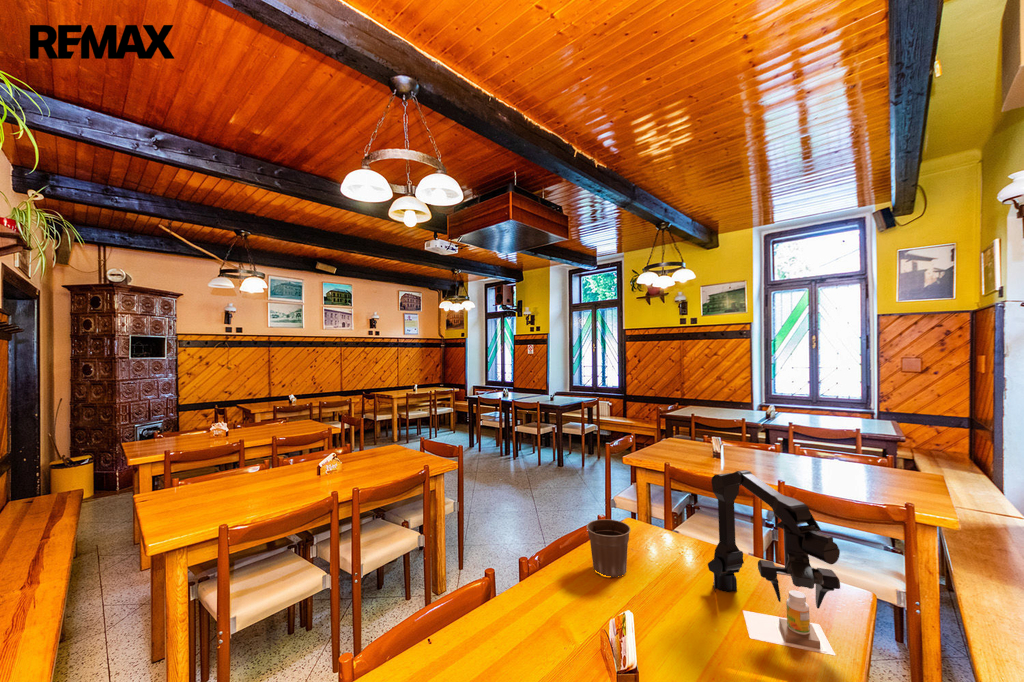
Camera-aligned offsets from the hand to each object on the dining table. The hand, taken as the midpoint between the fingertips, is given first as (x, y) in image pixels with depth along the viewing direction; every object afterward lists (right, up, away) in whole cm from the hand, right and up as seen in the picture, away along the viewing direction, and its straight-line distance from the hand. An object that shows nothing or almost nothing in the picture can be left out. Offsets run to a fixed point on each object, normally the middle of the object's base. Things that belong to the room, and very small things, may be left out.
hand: (798, 604), depth 120 cm
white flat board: (-2, -10, +2) cm, 10 cm away
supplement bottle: (0, -7, 0) cm, 7 cm away
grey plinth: (0, -9, 0) cm, 9 cm away
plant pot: (-44, -12, +40) cm, 61 cm away
